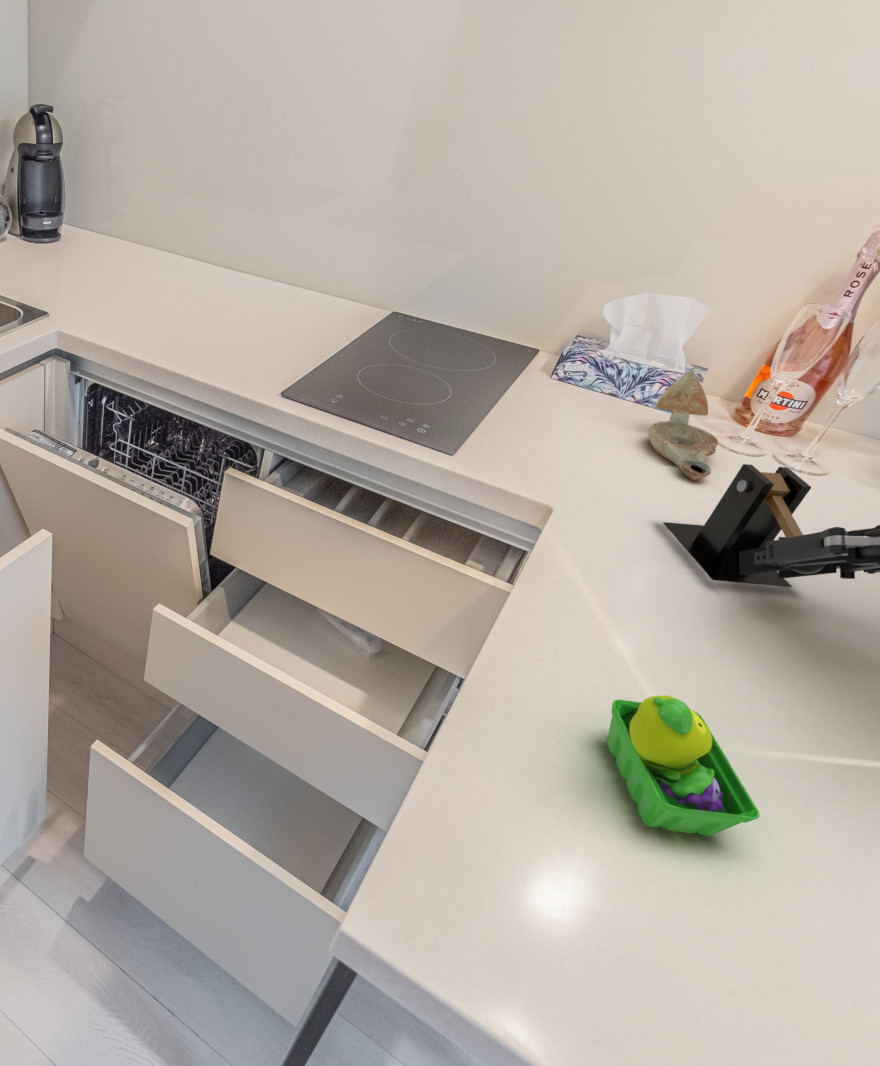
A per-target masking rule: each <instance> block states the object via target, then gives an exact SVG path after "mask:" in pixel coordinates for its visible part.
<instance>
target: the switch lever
mask: <svg viewBox="0 0 880 1066" xmlns="http://www.w3.org/2000/svg"><path fill="white" fill-rule="evenodd" d="M760 472H761V473H762V474H763V475H764V476H765V477H766V478H768V479H769V480H770V481H771V482H772V483H773V484H774V486H773V487H772V489H771V490H770V492H769V493H768V494H767V496H766V497H765V499H764V500H763V502H762V503H766V504H768V505H769V507H770V509H771V511H772V512H773V514H774V516H775V518H776V520H777V522H778V524H779V525H780V527H781V531H782V533H783V535H784V537H786V538H790V537H796V536H801V535H804V534H803V532H802V530H801V529H800V527H799V524H798V523H797V521H796V520H795V517H794V516H793V514H791V512H790V511H789V509H788V507H787V505H786V503H785V502H784V500H783V497H785V496H786V495H787V494H788V493H789V492H790V490H789V488H788V486H787V485H786V483H785V481H784V479H783V478H782V476H781V474H779V473H775V472H765V471H760ZM826 565H827V564H818V565H806V566H794V569H792V570H793V571H796V572H799V573H804V574H810V573H815V572H818V571H820V570H822V569H823V568H824V567H825V566H826Z"/></svg>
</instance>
